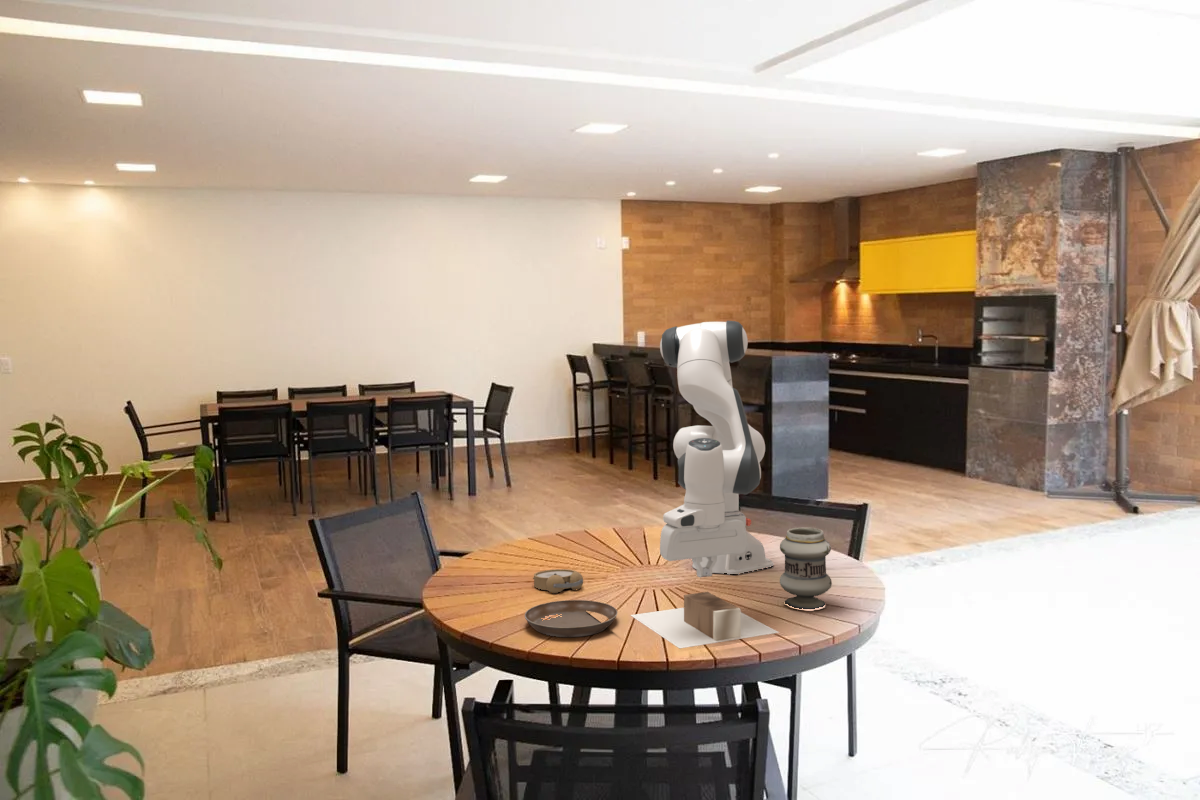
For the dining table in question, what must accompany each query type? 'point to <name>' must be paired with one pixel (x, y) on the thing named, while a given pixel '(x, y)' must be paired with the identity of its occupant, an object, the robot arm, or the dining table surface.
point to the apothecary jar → (805, 567)
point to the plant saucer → (570, 618)
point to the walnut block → (712, 616)
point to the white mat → (686, 635)
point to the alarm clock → (558, 580)
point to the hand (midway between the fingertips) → (704, 576)
